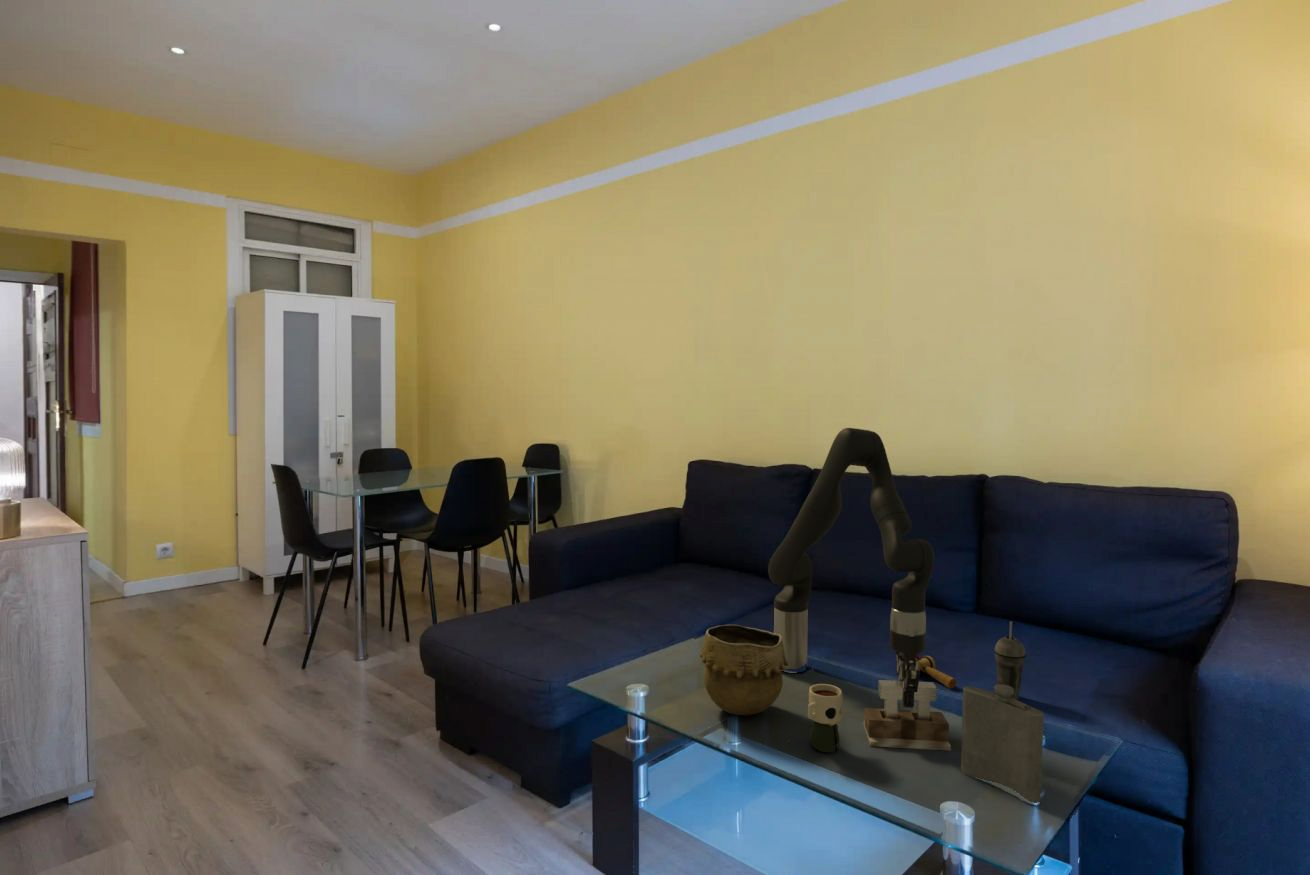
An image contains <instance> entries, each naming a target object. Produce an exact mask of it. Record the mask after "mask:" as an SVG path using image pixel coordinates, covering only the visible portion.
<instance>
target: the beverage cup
mask: <svg viewBox="0 0 1310 875" xmlns="http://www.w3.org/2000/svg"><path fill="white" fill-rule="evenodd" d="M1012 634H1013V621H1010V620H1009V636H1004V637H1001V638H1000V639H999V640H998V641H997V642H996V644H995V647H994V650H993V652H994V657H995V663H996V677H997V678H996V681H997V684H1003V685H1008V686H1010V687H1012V688H1014V694H1013V699H1016V700H1018V701H1019V696H1020V693H1021V684H1022V675H1023V669H1024V668H1023V667H1024V664H1025V661H1026V660H1025V659H1026V657H1027V654H1026V649H1025V647H1024V645H1023V643H1022V641H1020V640H1019V639H1017V638H1016V637H1013V635H1012Z"/></svg>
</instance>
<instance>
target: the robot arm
mask: <svg viewBox="0 0 1310 875" xmlns="http://www.w3.org/2000/svg"><path fill="white" fill-rule="evenodd" d="M831 444H832V445H831V446H830V448H829V452H828V453H827V457H826V458H825V461H824V464H823V466H822V468H821V470H820V472H819V475H818V476H817V479H816V481H815V483H814V485H813V486H812V488H811V490H810V492H809V493H808V495H807V497H806V499H805V501H804V502H803V504H802V507H801V508H800V510H799V513H798V515H797V516H796V517H795V519H794V521H793V523H792V525H791V527H790V528H789V530H788V532H787V534H786V536H785V537H784V539H783V540H782V541H781V543H780V544H779V545H778V547H777V549H776V550H775V552H774V553H773V554H772V556H771V558H770V559H769V562H768V565H767V566H768V567H767V571H768V572H767V573H768V577H769V580H770V581H771V582H772V583H773V584H774V585H776V586H781V587H783V588H782V590H781V591H780V592H779V593H778V594H777V595H775V597H774V601H773V606H774V608H773V610H774V616H773V617H774V618H773V620H774V622H773V633H774V634H780V635H781V637H782V641H783V646H784V654H785V658H786V660H787V662H788V663H789V664H788V666H785V669H798V668H800V667H802V666H804V665H805V664H806V663H807V664H808V620H809V619H808V618H809V616H808V614H809V613H808V612H809V611H808V610H809V609H808V608H809V607H808V605H809V603H810V602H809V601H810V599H811V595H812V582H813V581H812V580H813V566H812V565H813V564H812V561H811V558H810V557H809V554H808V553H807V551H808V550H809V549H810V548H812V547H813V546H814V545H815V544H816V543H817V542H819V541H820V540H821V539H822V538H824V536H825V535H826V534H828V532H829V531H830V530H831V528H832V527H833V525H834V524H835V522H836V520H837V519H838V517H839V515H840V513H841V510H842V506H843V500H842V493H841V492H842V490H841V482H842V479H843V477H844V475H845V472H846V471H847V470H848V468H849V467H850V466H856V467H862V468H863V467H864V468H865V469H866V470H867V472H868V473H869V475H870V478H871V480H872V488H871V493H870V500H869V501H870V503H869V504H870V508H871V512H872V515H873V517H874V520H875V521H876V523H877V526H878V528H879V531H880V535H881V543H882V551H883V558H884V562H885V565H887V567H888V568H889V569H890V570H892V571H893V572H895V573H908V574H907V576H906V577H905V578H902V579H901V580H898V581H896V582H894V583H893V584H892V588H891V589H892V590H891V612H890V623H889V624H890V626H889V628H890V629H889V631H890V633H889V646H890V648H891V649H892V650H893V651H895V659H896V660H895V662H896V676H897V677H898V679H897V681H903V700H902V705H903V707H904V708H907V709H909V708H910V709H913V708H914V707H915V700H914V692H917V691H918V683H919V682H920V677H921V671H919V670H917V668H918V660H917V659H916V655H917V654H918V655H919V654H923V653H924V652H925V651H926V648H927V647H926V645H927V644H926V642H927V639H926V635H927V617H926V616H927V615H926V591H927V587H928V585H929V581H930V579H931V575H932V571H933V569H934V566H935V557H936V556H935V552H934V548H933V546H932V544H931V543H930V542H929V541H927V540H926V539H923V538H917V539H916V538H915V539H914V538H913V539H901V537H904V536H905V535H908V534H909V532H910V531H911V529H912V520H911V519H910V516H909V515H908V512H907V510H906V508H905V505H904V504H903V502H902V500H901V497H900V495H899V492H898V490H897V488H896V484H895V482H894V476H893V473H892V470H891V466H890V462H889V458H888V455H887V451H886V448H885V444H884V443H883V440H882V438H881V436H880V435H879V434H878V433H877V432H875V431H873V430H870V429H869V430H868V429H863V428H862V429H861V428H854V427H853V428H852V427H845V428H843V429H841V430H840V431H839V432H838V433H837V435H836V436H835V438H834V440H833V441H832V443H831ZM909 685H912V686H909Z"/></svg>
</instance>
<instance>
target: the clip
mask: <svg viewBox="0 0 1310 875" xmlns="http://www.w3.org/2000/svg"><path fill="white" fill-rule="evenodd" d="M877 682H878V683H877V684H878V687H877V690H878V692H877V694H878V696H879V698H880V700H884V702H883V703H884V704H883V709H884V716H885V718H886V719H897V710H898V700H899V701H903V681H898V680H889V679H888V680H886V679H878V681H877ZM909 686H912V685H909ZM937 692H938V689H937V686H936V684H935V683H934V682H933V681H932V682H931V681H919V683H918V691H917V692H914V701H915V711H916V718H917V720H923V721H930V711H931V702H937V699H938V697H937V695H938V693H937Z"/></svg>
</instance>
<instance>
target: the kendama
mask: <svg viewBox="0 0 1310 875" xmlns="http://www.w3.org/2000/svg"><path fill="white" fill-rule="evenodd" d="M916 659H917V660H918V668H917V670H919V671H920V672H921V671H922V673H923V674H926V675H929V676H931V677H932V678H933V679H935V680H936V681H938V682H939V683H941V684H942V685H944V686H945V687H946V688H947V689H950V690H952V689H954V688H955V687H956V685H957V679H956V678H955V677H952V676H950V675H949V674H946V673H944V672H942V671H939V670H937V669H936V662H935V659H934V658H933V657H932V656H930V655H923V656H921V657H920V656H919V654H917V655H916Z"/></svg>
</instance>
